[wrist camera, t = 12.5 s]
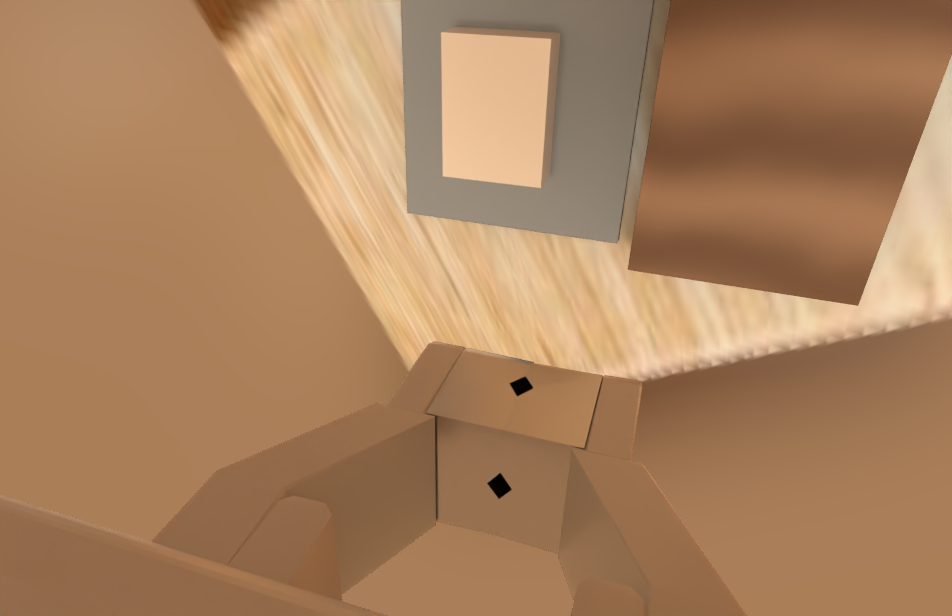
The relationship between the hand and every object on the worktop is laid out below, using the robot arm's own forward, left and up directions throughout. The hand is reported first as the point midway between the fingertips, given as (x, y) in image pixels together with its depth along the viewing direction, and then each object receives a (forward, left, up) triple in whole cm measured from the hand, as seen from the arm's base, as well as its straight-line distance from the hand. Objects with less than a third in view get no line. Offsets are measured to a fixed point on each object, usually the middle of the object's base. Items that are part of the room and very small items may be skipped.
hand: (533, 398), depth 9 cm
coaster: (+3, -9, -29) cm, 31 cm away
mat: (+3, -8, -31) cm, 32 cm away
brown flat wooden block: (+3, +6, -31) cm, 32 cm away
